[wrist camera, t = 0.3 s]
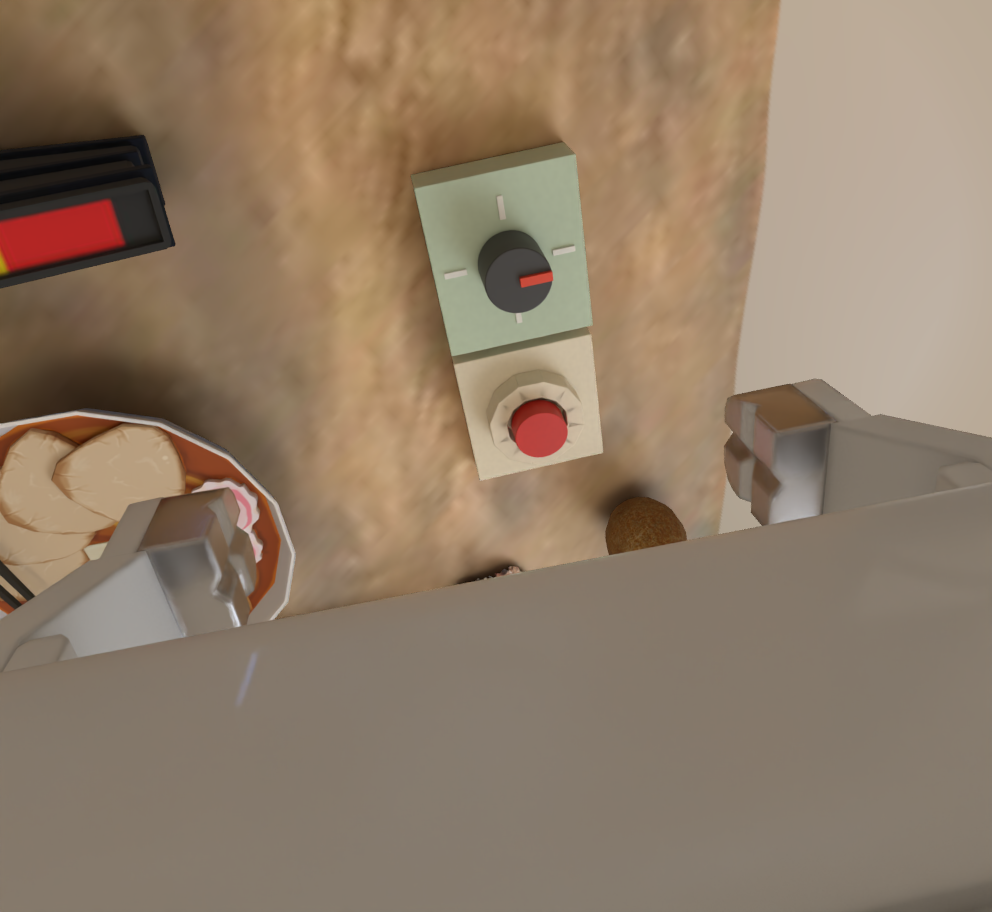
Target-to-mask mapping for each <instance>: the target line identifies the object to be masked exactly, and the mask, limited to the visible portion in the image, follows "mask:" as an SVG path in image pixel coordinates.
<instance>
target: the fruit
mask: <svg viewBox="0 0 992 912" xmlns="http://www.w3.org/2000/svg"><path fill="white" fill-rule="evenodd" d="M682 541H687V538H686V532H685V529H684V527H683V525H682V523H681V522H680V521H679V519H678V518H677V517H676V515H675V514H674V512H673V511H672V510H671V509H670V508H669V507H667V506H666V505H664V504H662V503H660V502H658V501H656V500H654V499H651V498H648V497H636V498H632V499H628V500H626V501H624V502H623V503H621V504H620V505H618V506H617V507H616V508H615V510H614V511H613V512H612V513H611V515H610V518H609V522H608V525H607V528H606V543H607V549H608V553H609V555H614V554H620V553H625V552H630V551H635V550H640V549H646V548H651V547H656V546H661V545H666V544H672V543H677V542H682Z"/></svg>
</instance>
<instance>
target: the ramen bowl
mask: <svg viewBox="0 0 992 912" xmlns="http://www.w3.org/2000/svg"><path fill="white" fill-rule="evenodd" d="M225 487H229V488H230V489H231V490H232V492H233V493H234V495H235V497H236V500H237V503H238V505H239V508H240V515H239V518H238V522H237V526H238V527H239V528H241V529H242V530H244V531H245V532H246V533H248V534H249V537H250V540H251V543H252V546H253V550H254V555H255V559H256V575H257V579H256V584H255V590H254V591H253V592H252V593H251V594H250V595H249V596H248V597H247V600H248V603H249V606H250V612H249V617H248V621H247V625H250V624H255V623H260V622H265V621H270V620H274V619H275V618H276V616H277V615H278V614H279V613H280V612H281V610H282V609H283V608H284V607H285V605H286V604H287V603H288V600H289V594H290V588H291V582H292V576H293V570H294V564H295V558H296V553H295V550H294V548H293V545H292V542H291V539H290V536H289V533H288V531H287V528H286V525H285V522H284V519H283V516H282V514H281V511H280V508H279V505H278V503H277V502H276V500H275V499H274V498H273V496H272V495H271V494H270V492H269V491H268V490H266V489H265V488H264V487H263V486H262V485H261V484H260V483H259V482H258V481H257V480H256V479H255V478H254V477H253V476H252V475H251V474H250V473H249V472H248V471H247V470H246V469H245V468H244V467H243V466H242V465H241V464H240V463H239V462H238V461H237V460H236V459H235V458H234V457H233V456H232V455H231V454H230V453H229V452H228V451H227V450H226V449H224V448H222V447H221V446H219V445H217V444H215V443H213V442H211V441H208V440H206V439H204V438H202V437H200V436H198V435H196V434H194V433H192V432H190V431H188V430H186V429H184V428H182V427H180V426H178V425H176V424H173V423H171V422H169V421H167V420H165V419H163V418H156V417H149V416H142V415H134V414H127V413H120V412H112V411H105V410H98V409H89V408H84V409H79V410H73V411H67V412H61V413H55V414H49V415H44V416H38V417H32V418H26V419H20V420H14V421H10V422H6V423H2V424H0V619H2V618H3V617H5V616H6V615H8V614H9V613H11V612H12V611H14V610H16V609H17V608H19V607H20V606H22V605H23V604H25V603H26V602H28V601H29V600H31V599H32V598H34V597H35V596H37V595H38V594H40V593H41V592H43V591H44V590H46V589H47V588H49V587H50V586H52V585H53V584H55V583H56V582H58V581H59V580H61V579H62V578H64V577H65V576H67V575H68V574H70V573H71V572H73V571H74V570H76V569H78V568H79V567H81V566H82V565H84V564H85V563H87V562H88V561H91V560H96V559H99V558H100V556H101V555H102V553H103V551H104V549H105V547H106V545H107V544H108V542H109V540H110V538H111V536H112V534H113V532H114V531H115V529H116V527H117V525H118V523H119V521H120V520H121V518H122V516H123V514H124V512H125V510H126V509H127V507H128V505H129V504H132V503H136V502H141V501H146V500H150V499H155V498H159V497H164V498H165V497H170V496H176V495H182V494H188V493H194V492H200V491H206V490H212V489H219V488H225Z"/></svg>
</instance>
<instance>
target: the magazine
mask: <svg viewBox="0 0 992 912" xmlns="http://www.w3.org/2000/svg"><path fill="white" fill-rule="evenodd" d="M164 205H165V201H164V198H163V195H162V191H161V188H160V184H159V181H158V177H157V174H156V171H155V167H154V164H153V161H152V157H151V154H150V151H149V147H148V144H147V141H146V138H145V136H144V135H139V136H130V137H120V138H111V139H102V140H92V141H83V142H74V143H64V144H55V145H46V146H36V147H27V148H17V149H6V150H0V288H4V287H8V286H13V285H17V284H21V283H25V282H29V281H34V280H38V279H42V278H46V277H50V276H55V275H59V274H63V273H67V272H71V271H76V270H80V269H84V268H88V267H92V266H96V265H101V264H105V263H109V262H113V261H117V260H122V259H126V258H130V257H134V256H138V255H143V254H147V253H151V252H155V251H159V250H164V249H167V248H168V247H172V246H175V241H174V238H173V235H172V231H171V228H170V225H169V221H168V218H167V215H166V211H165V208H164Z"/></svg>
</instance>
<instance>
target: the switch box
mask: <svg viewBox="0 0 992 912" xmlns="http://www.w3.org/2000/svg"><path fill="white" fill-rule="evenodd" d="M451 357H452V361H453V365H454V370H455V374H456V379H457V383H458V388H459V392H460V396H461V401H462V405H463V410H464V414H465V419H466V423H467V428H468V432H469V436H470V441H471V445H472V450H473V454H474V459H475V463H476V467H477V472H478V476H479V480H480V481H481V480H486V479H490V478H495V477H499V476H503V475H508V474H512V473H517V472H521V471H525V470H530V469H534V468H539V467H543V466H547V465H552V464H556V463H560V462H565V461H569V460H574V459H578V458H582V457H587V456H591V455H596V454H600V453H603V444H602V434H601V424H600V415H599V405H598V395H597V386H596V376H595V366H594V357H593V347H592V337H591V333H590V332H589V330H588V328H587V327H583V328H578V329H574V330H569V331H565V332H560V333H556V334H551V335H547V336H542V337H538V338H533V339H529V340H524V341H520V342H515V343H511V344H506V345H502V346H497V347H493V348H488V349H484V350H479V351H475V352H470V353H466V354H461V355H457V356H451ZM534 400H546V401H549V402H551V403H553V404H555V405H556V406H557V407H558V408H559V410H560V411H561V414H562V416H563V418H564V421H565V423H566V425H567V429H568V435H567V439H566V441H565V443H564V445H563V446H562V447H561V448H560V449H559V450H558V451H557V452H555V453H553V454H552V455H549V456H546V457H531V456H528V455H526V454H524V453H523V452H522V451H521V450H520V449H519V448H518V446H517V444H516V441H515V438H514V435H513V432H512V427H511V422H512V418H513V416H514V414H515V412H516V411H517V410H518V409H519V408H520V407H521V406H522V405H524V404H526V403H528V402H530V401H534Z"/></svg>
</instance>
